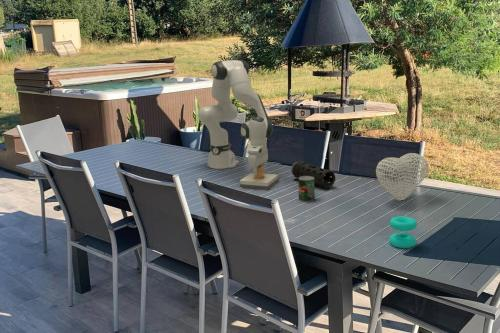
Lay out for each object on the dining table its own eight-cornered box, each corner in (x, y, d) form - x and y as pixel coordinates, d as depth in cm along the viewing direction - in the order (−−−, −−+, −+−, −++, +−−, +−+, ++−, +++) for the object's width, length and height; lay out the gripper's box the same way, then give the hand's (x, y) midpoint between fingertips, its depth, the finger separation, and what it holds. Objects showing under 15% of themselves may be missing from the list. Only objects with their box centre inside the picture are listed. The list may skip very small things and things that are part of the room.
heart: (392, 210, 239) (394, 163, 233) (368, 202, 252) (369, 157, 246) (433, 199, 253) (436, 154, 248) (408, 191, 266) (410, 149, 261)
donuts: (418, 216, 201) (416, 225, 192) (417, 240, 203) (415, 250, 194) (391, 214, 204) (388, 222, 195) (390, 238, 207) (387, 247, 198)
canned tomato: (317, 198, 260) (317, 176, 258) (310, 202, 254) (310, 180, 251) (302, 196, 264) (302, 175, 262) (295, 200, 258) (295, 178, 255)
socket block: (251, 179, 298) (251, 172, 297) (278, 181, 292) (278, 174, 291) (240, 187, 283) (239, 180, 282) (267, 190, 277) (267, 182, 276)
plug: (257, 179, 289) (256, 163, 287) (264, 180, 288) (263, 163, 286) (254, 181, 286) (254, 164, 283) (261, 182, 284) (261, 165, 282)
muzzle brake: (321, 191, 272) (321, 172, 270) (290, 179, 295) (289, 162, 293) (335, 188, 277) (336, 169, 274) (303, 177, 300) (303, 159, 298)
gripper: (260, 143, 293) (260, 167, 296) (245, 151, 274) (246, 176, 278) (270, 143, 290) (271, 168, 294) (257, 151, 272) (257, 177, 275)
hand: (259, 172), depth 286 cm, fingers open, 8 cm apart
